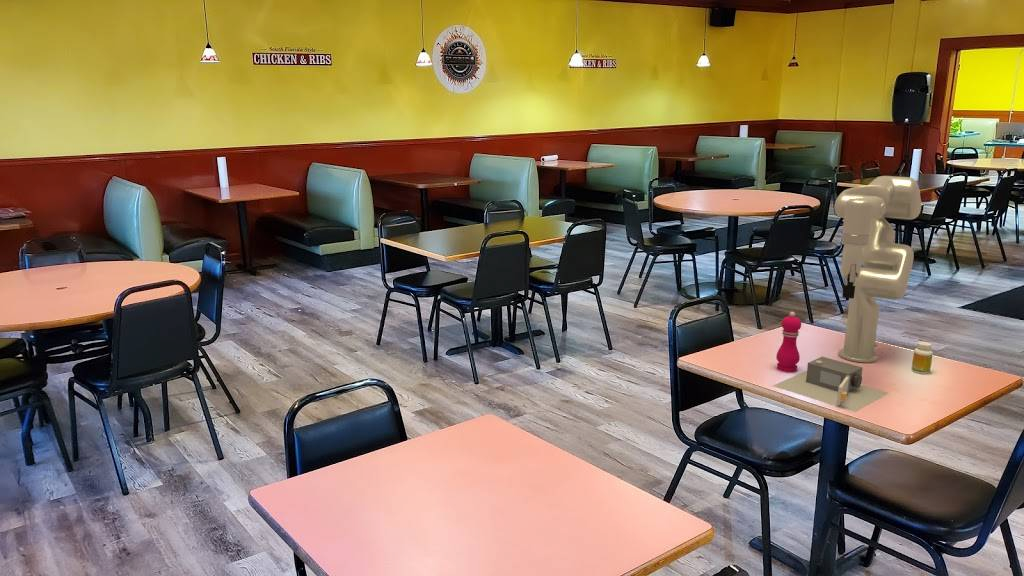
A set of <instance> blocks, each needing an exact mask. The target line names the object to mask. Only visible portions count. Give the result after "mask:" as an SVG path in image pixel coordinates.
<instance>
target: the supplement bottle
mask: <svg viewBox="0 0 1024 576" xmlns="http://www.w3.org/2000/svg"><path fill="white" fill-rule="evenodd" d="M931 349H932V343H930V342H927V341H918V342H917V346H916V348H914V351H913V357H912V364H911V371H912V372H914V373H916V374H922V375H928V374H930V373H931V367H932V361H933V355H934V352H933V351H932V350H931Z"/></svg>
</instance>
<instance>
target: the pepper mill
mask: <svg viewBox="0 0 1024 576" xmlns="http://www.w3.org/2000/svg"><path fill="white" fill-rule="evenodd" d="M788 314H789V315H787V316H785V317H784V318H782V320H781V327H782V329H783V330H782V332H781V335H782V336H783V339H782V343H781V345H780V346H779V348H778V350H777V352H776V355H775V358H776V360H777V364H776V369H777V370H778V371H780V372H784V373H796V372H797V370H798V365H797V364H798V363H799V362H800V359H801V358H800V352H799V350H798V347H797V338H798V337H799V334H800V331H799V330H800V329H801V328H802V321H801V319H800V318H799V317H797V316H796V312H795V311H790V312H789V313H788Z"/></svg>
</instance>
